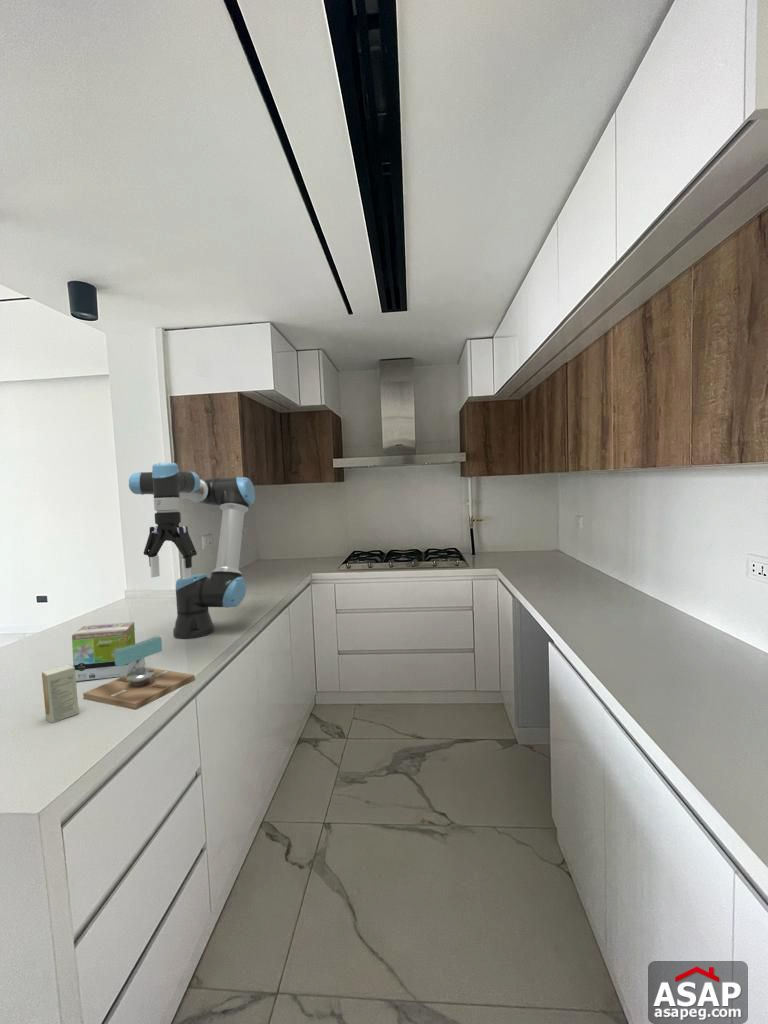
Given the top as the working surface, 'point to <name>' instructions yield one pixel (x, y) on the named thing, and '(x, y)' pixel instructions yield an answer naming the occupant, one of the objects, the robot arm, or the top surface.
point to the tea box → (101, 650)
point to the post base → (138, 689)
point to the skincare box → (60, 693)
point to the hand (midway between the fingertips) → (170, 577)
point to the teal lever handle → (138, 658)
